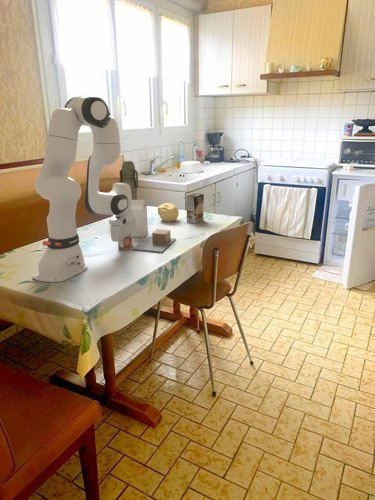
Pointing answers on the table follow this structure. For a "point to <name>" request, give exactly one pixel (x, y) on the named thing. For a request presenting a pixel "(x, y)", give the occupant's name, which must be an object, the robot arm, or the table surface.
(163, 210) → the sculpture
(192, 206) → the coffee box
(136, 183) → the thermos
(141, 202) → the milk carton
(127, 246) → the top block
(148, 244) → the building board
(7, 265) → the table surface
